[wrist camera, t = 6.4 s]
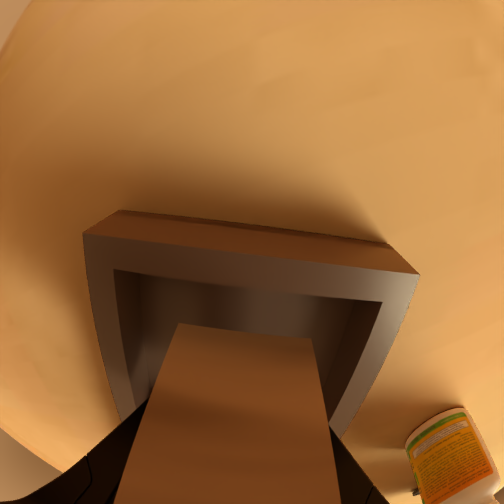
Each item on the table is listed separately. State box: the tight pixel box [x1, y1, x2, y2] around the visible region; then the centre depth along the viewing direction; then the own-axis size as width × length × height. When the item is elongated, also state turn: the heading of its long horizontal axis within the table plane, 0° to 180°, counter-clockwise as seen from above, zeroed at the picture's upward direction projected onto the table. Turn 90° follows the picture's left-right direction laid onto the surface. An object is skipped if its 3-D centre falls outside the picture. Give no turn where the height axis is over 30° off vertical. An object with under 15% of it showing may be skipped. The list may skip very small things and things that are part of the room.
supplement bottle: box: [405, 408, 500, 504], centre depth 11 cm, size 5×5×10 cm
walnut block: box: [114, 323, 341, 504], centre depth 7 cm, size 4×4×6 cm
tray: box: [83, 210, 420, 439], centre depth 12 cm, size 18×10×3 cm, turn 173°
